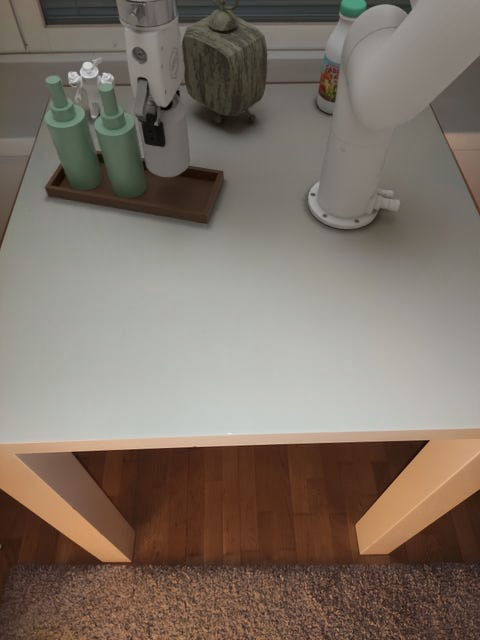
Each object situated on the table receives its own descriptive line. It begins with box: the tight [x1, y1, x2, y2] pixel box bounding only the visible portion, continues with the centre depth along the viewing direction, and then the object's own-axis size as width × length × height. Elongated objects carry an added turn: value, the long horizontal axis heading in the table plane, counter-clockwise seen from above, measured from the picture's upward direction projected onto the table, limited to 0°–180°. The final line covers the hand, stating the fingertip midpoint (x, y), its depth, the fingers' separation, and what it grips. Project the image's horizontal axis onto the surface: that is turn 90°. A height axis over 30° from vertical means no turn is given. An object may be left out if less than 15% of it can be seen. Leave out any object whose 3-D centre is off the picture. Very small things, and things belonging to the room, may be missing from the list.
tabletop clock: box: [181, 0, 268, 124], centre depth 89 cm, size 14×9×25 cm, turn 49°
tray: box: [44, 150, 225, 225], centre depth 86 cm, size 30×12×3 cm, turn 77°
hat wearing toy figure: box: [67, 56, 116, 119], centre depth 94 cm, size 9×4×12 cm, turn 87°
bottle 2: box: [93, 83, 147, 198], centre depth 79 cm, size 6×6×19 cm
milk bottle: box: [316, 0, 367, 115], centre depth 93 cm, size 8×8×20 cm
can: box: [136, 93, 191, 177], centre depth 75 cm, size 8×8×12 cm
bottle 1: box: [44, 74, 103, 191], centre depth 80 cm, size 6×6×19 cm
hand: (163, 127), depth 74 cm, fingers closed on can, 7 cm apart
